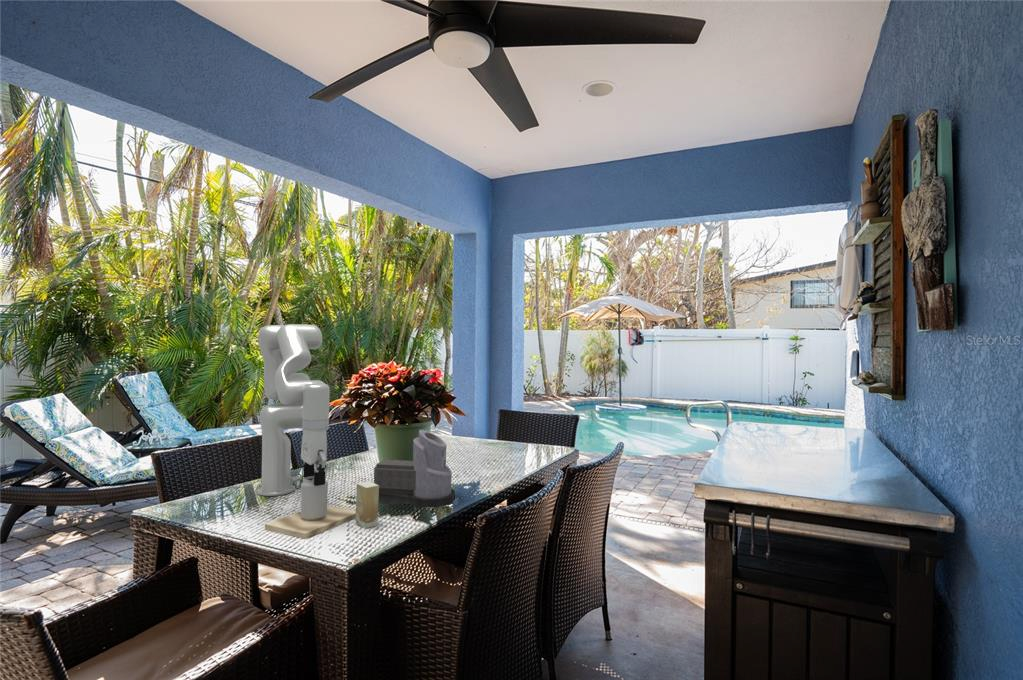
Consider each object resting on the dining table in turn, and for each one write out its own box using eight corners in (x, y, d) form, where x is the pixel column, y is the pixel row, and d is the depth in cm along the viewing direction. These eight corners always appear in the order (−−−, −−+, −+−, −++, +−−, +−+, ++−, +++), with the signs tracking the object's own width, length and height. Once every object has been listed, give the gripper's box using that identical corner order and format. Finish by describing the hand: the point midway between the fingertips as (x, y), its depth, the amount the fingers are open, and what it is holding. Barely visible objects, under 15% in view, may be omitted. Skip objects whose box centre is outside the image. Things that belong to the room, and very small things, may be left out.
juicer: (463, 496, 193) (464, 427, 193) (452, 509, 177) (453, 435, 177) (383, 491, 198) (384, 424, 198) (365, 504, 182) (366, 431, 182)
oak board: (321, 508, 176) (321, 504, 176) (359, 516, 169) (360, 511, 169) (264, 529, 156) (264, 524, 156) (305, 538, 149) (305, 533, 149)
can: (310, 512, 168) (311, 473, 168) (332, 514, 166) (332, 475, 166) (295, 519, 160) (295, 479, 160) (317, 522, 158) (317, 481, 158)
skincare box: (354, 523, 163) (355, 482, 163) (367, 520, 166) (368, 480, 166) (365, 529, 158) (366, 487, 158) (378, 525, 161) (379, 484, 161)
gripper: (293, 420, 167) (292, 475, 168) (312, 430, 154) (310, 490, 154) (318, 419, 172) (316, 472, 173) (338, 428, 159) (336, 486, 159)
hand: (313, 480), depth 163 cm, fingers open, 9 cm apart
